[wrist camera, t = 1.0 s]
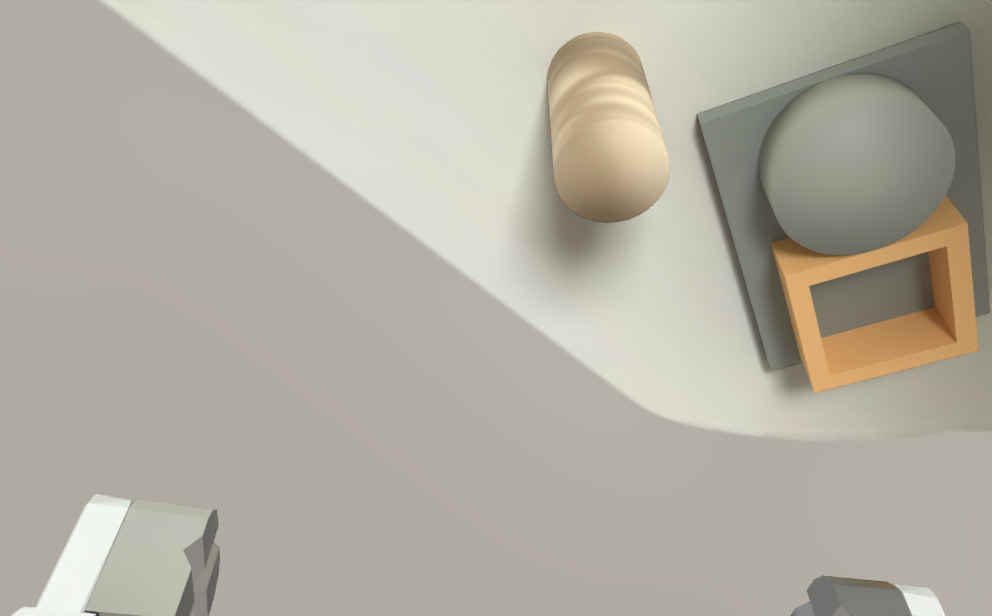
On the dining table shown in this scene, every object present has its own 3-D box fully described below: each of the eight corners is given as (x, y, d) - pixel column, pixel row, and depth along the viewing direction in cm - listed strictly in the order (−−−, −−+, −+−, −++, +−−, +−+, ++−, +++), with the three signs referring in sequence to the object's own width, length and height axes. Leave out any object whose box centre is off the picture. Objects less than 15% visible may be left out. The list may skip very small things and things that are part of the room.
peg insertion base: (959, 22, 39) (999, 56, 35) (982, 301, 48) (1014, 348, 45) (696, 114, 42) (711, 153, 38) (767, 359, 51) (783, 407, 48)
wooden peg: (626, 17, 39) (651, 103, 32) (654, 103, 41) (683, 201, 34) (533, 53, 40) (537, 144, 33) (565, 135, 42) (575, 236, 35)
